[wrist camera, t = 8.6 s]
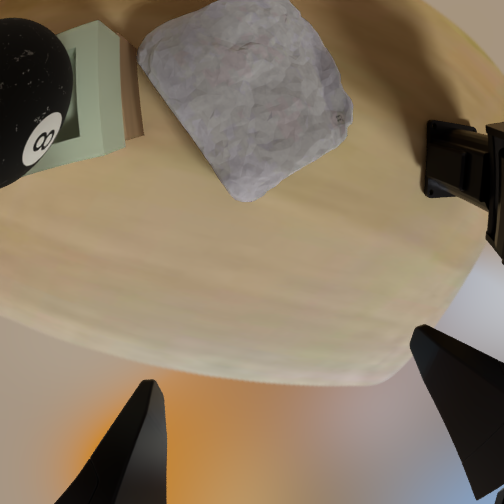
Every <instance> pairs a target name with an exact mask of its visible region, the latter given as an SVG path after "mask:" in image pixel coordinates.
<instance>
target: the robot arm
mask: <svg viewBox="0 0 504 504" xmlns="http://www.w3.org/2000/svg"><path fill="white" fill-rule="evenodd" d="M432 125H433V127H432ZM486 133H487V134H488V135H484V134H480V133H477V131H476V129H475V128H474V127H470V126H465V125H460V124H454V123H449V122H443V121H436V120H429V121H428V123H427V157H426V176H425V189H424V194H425V196H427V197H429V198H440V197H456V196H457V197H459V198H462V199H464V200H466V201H468V202H470V203H472V204H474V205H476V206H478V207H480V208H481V209H483V210H485V211H487V212H489V215H488V228H487V231H486V240H487V241H488V242H489V243H490V245H491V246H492V247H493V248H494V250H495V251H496V252H497V253H498V255H499V256H500V257H501V259H502V264H503V265H504V122H500V123H494V124H488V125H486ZM429 192H430V193H429ZM410 349H411V352H412V354H413V356H414V359H415V361H416V364H417V366H418V369H419V371H420V374H421V376H422V378H423V381H424V383H425V385H426V387H427V389H428V391H429V393H430V395H431V397H432V399H433V400H434V403H435V405H436V407H437V409H438V411H439V413H440V415H441V417H442V419H443V421H444V423H445V425H446V427H447V430H448V432H449V434H450V436H451V439H452V441H453V443H454V445H455V447H456V450H457V452H458V455H459V457H460V459H461V461H462V465H463V467H464V470H465V472H466V475H467V477H468V480H469V482H470V485H471V488H472V491H473V493H474V496H475V498H476V500H479V499H481V498H482V497H484V496H486V495H487V494H489V493H491V492H492V491H494V490H496V489H497V488H499V487H500V486H502V485H503V484H504V363H503V362H501V361H498V360H497V359H495V358H493V357H491V356H489V355H487V354H485V353H483V352H481V351H479V350H476V349H475V348H473V347H471V346H469V345H467V344H465V343H462V342H461V341H459V340H457V339H455V338H453V337H450V336H448V335H446V334H444V333H442V332H440V331H438V330H436V329H434V328H432V327H430V326H428V325H426V324H423V325H420V326H417V327H416V328H415V329H414V332H413V335H412V338H411V341H410ZM166 465H167V432H166V420H165V406H164V397H163V393H162V392H161V390H160V388H159V386H158V384H157V382H156V381H155V380H153V379H151V380H143V381H142V382H141V383H140V384H139V386H138V388H137V389H136V390H135V392H134V393H133V395H132V396H131V398H130V399H129V400H128V402H127V403H126V405H125V406H124V408H123V409H122V411H121V412H120V414H119V415H118V417H117V418H116V420H115V421H114V423H113V424H112V425H111V427H110V429H109V430H108V431H107V433H106V434H105V436H104V437H103V439H102V440H101V442H100V443H99V445H98V446H97V448H96V449H95V451H94V452H93V454H92V455H91V457H90V459H89V460H88V461H87V463H86V464H85V466H84V467H83V469H82V470H81V472H80V473H79V474H78V476H77V477H76V479H75V480H74V481H73V482H72V483H71V485H70V486H69V487H68V488H67V490H66V491H65V492H64V493H63V494H62V495H61V497H60V498H59V499H58V500H57V501H56V502H55V503H54V504H166ZM495 504H504V488H503V489H502V490H501V491H499V492H498V494H497V497H496V501H495Z"/></svg>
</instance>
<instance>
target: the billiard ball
mask: <svg viewBox="0 0 504 504" xmlns="http://www.w3.org/2000/svg"><path fill="white" fill-rule="evenodd" d="M72 90H73V70H72V65H71V61H70V58H69V55H68V53H67V51H66V48H65V47H64V45H63V44H62V42H61V41H60V40H59V38H58V37H57V36H56V35H55V34H54V33H53V32H51V31H50V30H49V29H48V28H46V27H44V26H43V25H41V24H39V23H37V22H34V21H31V20H27V19H22V18H5V19H0V188H3V187H5V186H7V185H9V184H11V183H13V182H15V181H16V180H18V179H19V178H21V177H22V176H23V175H25V174H26V173H27V172H28V171H29V170H30V169H31V168H33V167H34V166H35V165H36V164H37V163H38V161H39V160H40V159H41V158H42V157H43V156H44V154H45V153H46V152H47V150H48V149H49V148H50V146H51V145H52V143H53V142H54V140H55V138H56V137H57V135H58V133H59V131H60V129H61V127H62V125H63V123H64V120H65V118H66V115H67V112H68V109H69V105H70V101H71V97H72Z"/></svg>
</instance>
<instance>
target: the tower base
mask: <svg viewBox="0 0 504 504" xmlns="http://www.w3.org/2000/svg"><path fill="white" fill-rule="evenodd" d="M115 34H116V35H118V36H119V37H120V84H121V101H122V115H123V126H124V136H125V141H126V140H129V139H133V138H136V137H140V136H143V135H144V132H143V124H142V116H141V107H140V97H139V87H138V75H137V62H136V48H135V47H134V46H133V45H132V44H130V43H129V42H128V41H127V40H126V39H125V38H124V37H123V36H122V35H120V34H119V33H115Z"/></svg>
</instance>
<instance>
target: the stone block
mask: <svg viewBox="0 0 504 504" xmlns="http://www.w3.org/2000/svg"><path fill="white" fill-rule="evenodd" d="M136 59H137V62H138V64H139V65H140V66H141V67H142V69H143V70H144V72H145V73H146V75H147V76H148V78H149V79H150V81H151V82H152V84H153V85H154V87H155V88H156V89H157V91H158V92H159V94H160V95H161V97H162V98H163V99H164V101H165V102H166V104H167V105H168V106H169V108H170V109H171V110H172V112H173V113H174V114H175V116H176V117H177V118H178V120H179V121H180V122H181V124H182V125H183V126H184V128H185V129H186V130H187V132H188V133H189V134H190V136H191V137H192V138H193V140H194V141H195V143H196V144H197V146H198V147H199V149H200V150H201V152H202V153H203V155H204V156H205V158H206V159H207V160H208V162H209V163H210V165H211V166H212V168H213V170H214V171H215V173H216V175H217V176H218V178H219V180H220V181H221V183H222V184H223V185H224V187H225V188H226V190H227V191H228V192H229V194H230V195H231V196H232V197H233V198H234V199H235V200H238V201H241V202H252V201H255V200H257V199H258V198H260V197H262V196H263V195H265V193H266V192H267V191H268V190H269V189H271V188H273V187H275V186H276V185H277V184H278V183H279V182H280V181H281V180H283V179H285V178H286V177H288V176H289V175H291V174H293V173H294V172H296V171H298V170H299V169H301V168H303V167H304V166H306V165H307V164H309V163H311V162H313V161H315V160H317V159H318V158H320V157H321V156H323V155H324V154H326V153H327V152H329V151H331V150H333V149H335V148H336V147H338V146H339V145H340V144H341V143H342V142H343V141H344V140H345V138H346V137H347V127H348V126H349V125H350V124H352V121H353V103H352V100H351V99H350V97H349V96H348V95H347V93H346V92H345V91H344V89H343V87H342V84H341V76H340V73H339V70H338V68H337V66H336V64H335V62H334V59H333V58H332V56H331V55H330V53H329V51H328V50H327V48H325V47H324V45H323V42H322V40H321V38H320V37H319V34H318V33H317V32H316V31H315V30H314V28H313V27H312V25H311V24H310V23H309V22H308V21H306V20H305V19H304V18H302V17H301V14H300V11H299V10H298V9H296V8H295V7H294V6H293V5H292V4H291V2H290V1H289V0H218V1H215V2H213V3H211V4H209V5H207V6H206V7H204V8H202V9H200V10H198V11H194V12H191V13H188V14H185V15H183V16H180V17H178V18H175V19H172V20H169V21H167V22H165V23H164V24H162V25H160V26H158V27H157V28H155V29H154V30H153V31H151V32H150V33H149V34H147V35H146V37H145V38H144V40H143V41H142V43H141V45H140V47H139V48H138V53H137V56H136Z"/></svg>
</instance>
